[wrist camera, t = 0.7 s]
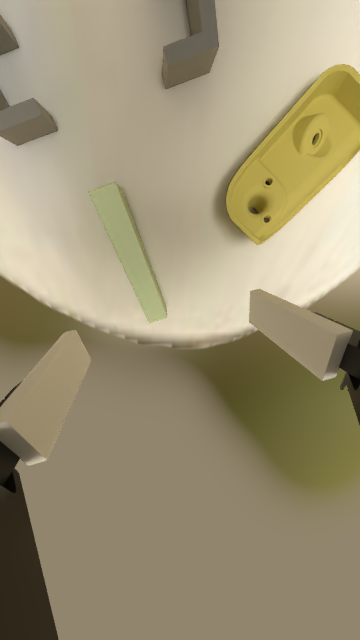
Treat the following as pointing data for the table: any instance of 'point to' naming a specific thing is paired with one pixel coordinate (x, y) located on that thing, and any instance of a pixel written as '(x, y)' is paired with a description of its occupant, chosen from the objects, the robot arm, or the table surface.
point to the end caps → (177, 68)
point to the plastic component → (298, 155)
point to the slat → (129, 248)
